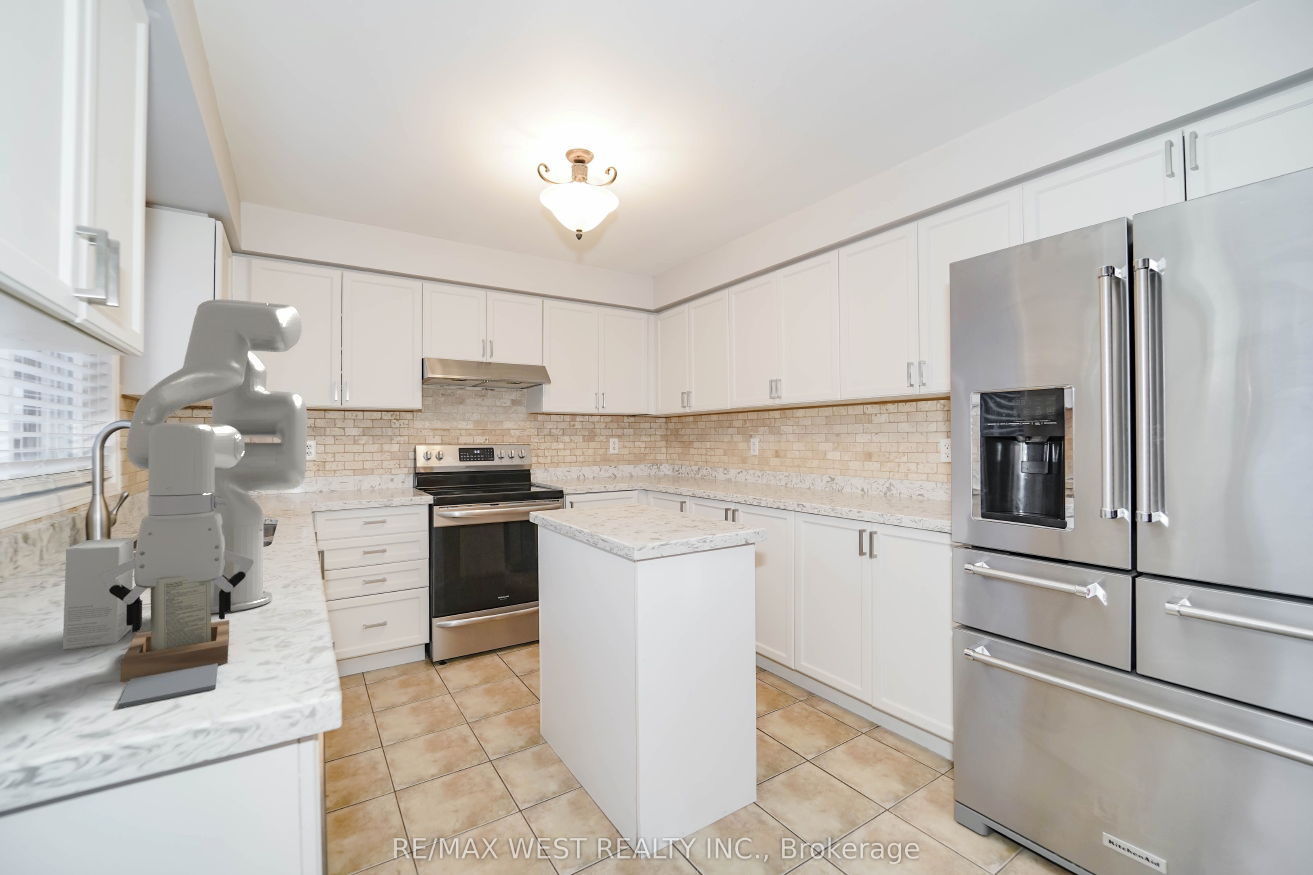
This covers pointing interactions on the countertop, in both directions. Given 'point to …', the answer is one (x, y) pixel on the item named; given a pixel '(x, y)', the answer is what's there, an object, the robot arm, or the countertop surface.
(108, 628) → the skincare box
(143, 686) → the slate mat
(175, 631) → the skincare box
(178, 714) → the countertop surface
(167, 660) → the hollow wooden block
